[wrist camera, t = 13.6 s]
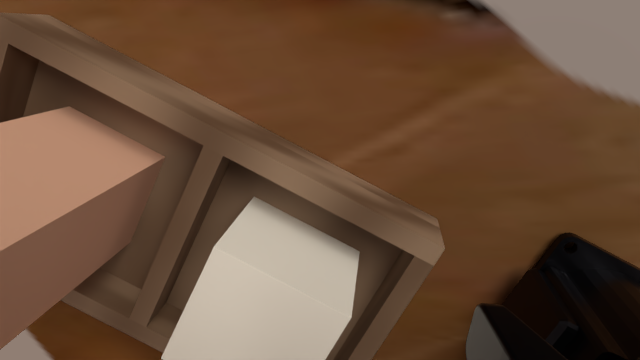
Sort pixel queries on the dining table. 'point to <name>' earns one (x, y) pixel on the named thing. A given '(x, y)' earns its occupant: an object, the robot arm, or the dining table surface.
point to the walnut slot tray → (208, 188)
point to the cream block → (268, 292)
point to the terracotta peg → (63, 207)
